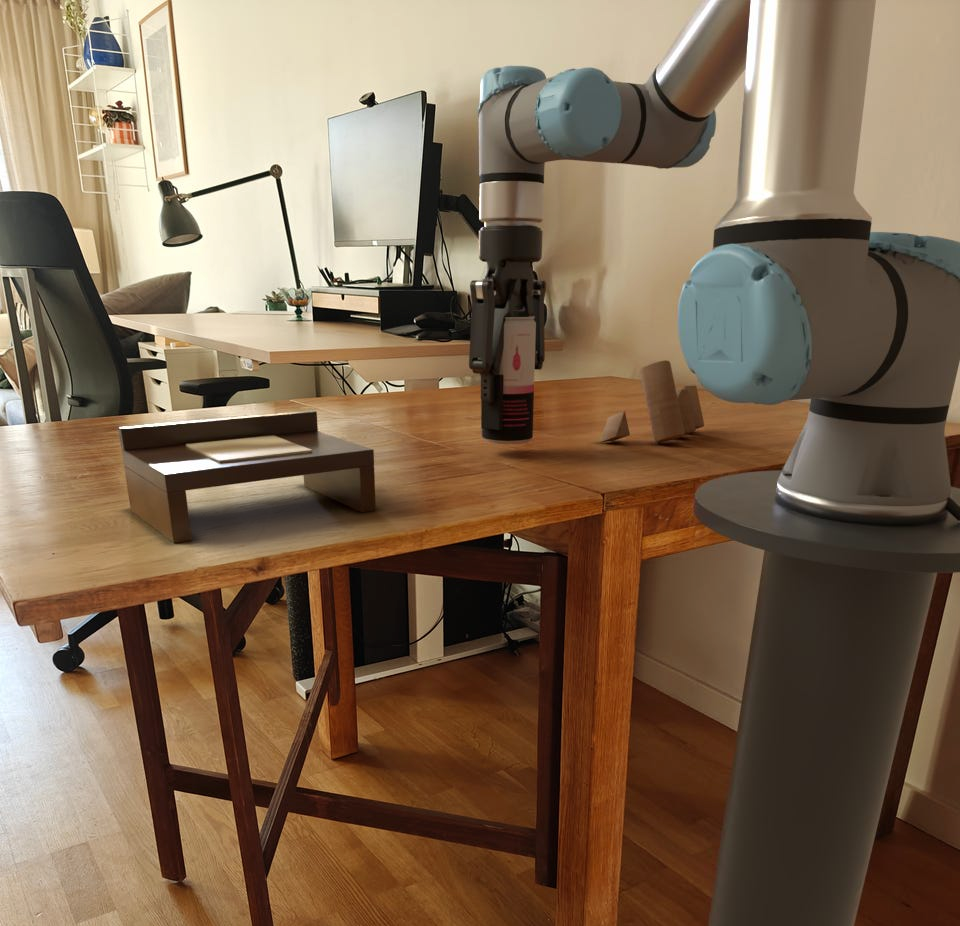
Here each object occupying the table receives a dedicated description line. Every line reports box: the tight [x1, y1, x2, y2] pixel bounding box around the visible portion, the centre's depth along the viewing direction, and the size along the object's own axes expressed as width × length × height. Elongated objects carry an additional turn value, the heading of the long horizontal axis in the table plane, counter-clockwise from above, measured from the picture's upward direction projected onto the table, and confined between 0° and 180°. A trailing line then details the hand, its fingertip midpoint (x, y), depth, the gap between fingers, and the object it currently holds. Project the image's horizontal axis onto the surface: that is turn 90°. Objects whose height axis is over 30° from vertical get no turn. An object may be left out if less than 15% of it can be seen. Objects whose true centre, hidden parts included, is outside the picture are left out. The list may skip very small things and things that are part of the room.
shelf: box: [117, 409, 377, 544], centre depth 83 cm, size 13×20×8 cm, turn 126°
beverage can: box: [481, 316, 536, 445], centre depth 108 cm, size 7×6×15 cm
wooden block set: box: [599, 360, 705, 444], centre depth 121 cm, size 18×9×10 cm, turn 131°
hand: (507, 424), depth 110 cm, fingers closed on beverage can, 6 cm apart
